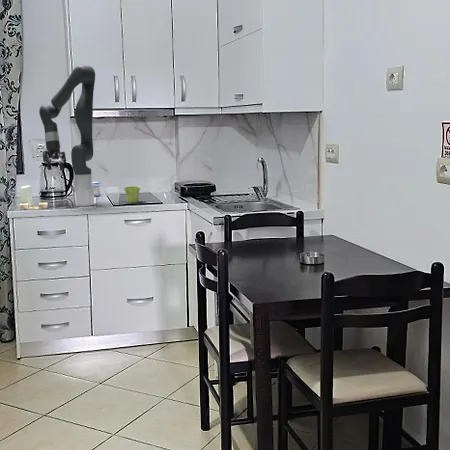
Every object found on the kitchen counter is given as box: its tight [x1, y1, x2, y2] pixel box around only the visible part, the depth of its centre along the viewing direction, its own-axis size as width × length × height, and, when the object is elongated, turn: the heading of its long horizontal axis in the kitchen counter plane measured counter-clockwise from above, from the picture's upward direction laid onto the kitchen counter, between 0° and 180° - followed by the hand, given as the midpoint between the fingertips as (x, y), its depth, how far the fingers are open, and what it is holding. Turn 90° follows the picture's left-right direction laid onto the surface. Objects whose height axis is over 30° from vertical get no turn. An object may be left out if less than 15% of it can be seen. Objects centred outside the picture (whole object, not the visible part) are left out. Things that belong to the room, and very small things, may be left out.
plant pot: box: [123, 185, 142, 204], centre depth 377 cm, size 9×9×9 cm
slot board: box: [18, 202, 49, 210], centre depth 360 cm, size 14×7×2 cm, turn 100°
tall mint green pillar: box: [19, 185, 33, 207], centre depth 367 cm, size 4×8×11 cm, turn 0°
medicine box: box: [92, 181, 102, 198], centre depth 406 cm, size 8×4×9 cm, turn 143°
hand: (56, 170), depth 368 cm, fingers open, 8 cm apart
